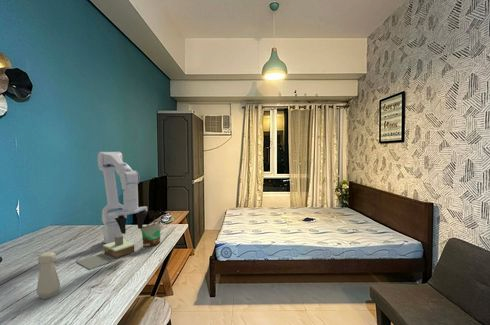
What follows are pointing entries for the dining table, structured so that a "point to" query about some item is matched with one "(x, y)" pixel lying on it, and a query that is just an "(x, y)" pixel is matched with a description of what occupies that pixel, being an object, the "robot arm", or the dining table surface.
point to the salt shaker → (47, 276)
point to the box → (119, 252)
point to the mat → (95, 261)
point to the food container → (151, 234)
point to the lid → (118, 244)
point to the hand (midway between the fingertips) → (131, 230)
